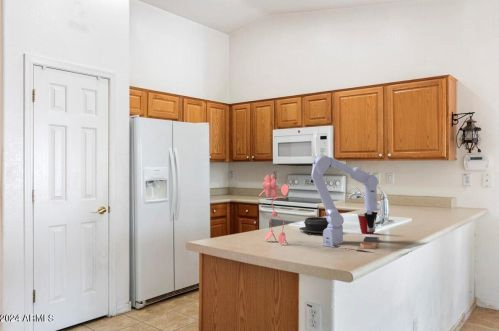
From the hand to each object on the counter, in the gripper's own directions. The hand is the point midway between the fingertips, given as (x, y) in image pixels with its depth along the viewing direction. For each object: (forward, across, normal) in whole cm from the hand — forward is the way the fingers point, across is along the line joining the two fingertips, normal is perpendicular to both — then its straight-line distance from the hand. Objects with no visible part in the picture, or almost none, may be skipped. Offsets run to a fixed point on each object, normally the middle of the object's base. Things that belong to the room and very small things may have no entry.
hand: (371, 227), depth 186 cm
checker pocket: (+7, 0, 0) cm, 7 cm away
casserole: (+8, +25, +32) cm, 41 cm away
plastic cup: (+8, +23, +4) cm, 25 cm away
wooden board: (+8, -8, 0) cm, 11 cm away
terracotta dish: (+7, -15, 0) cm, 16 cm away
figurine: (+9, -14, +47) cm, 50 cm away
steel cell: (+2, 0, 0) cm, 2 cm away
